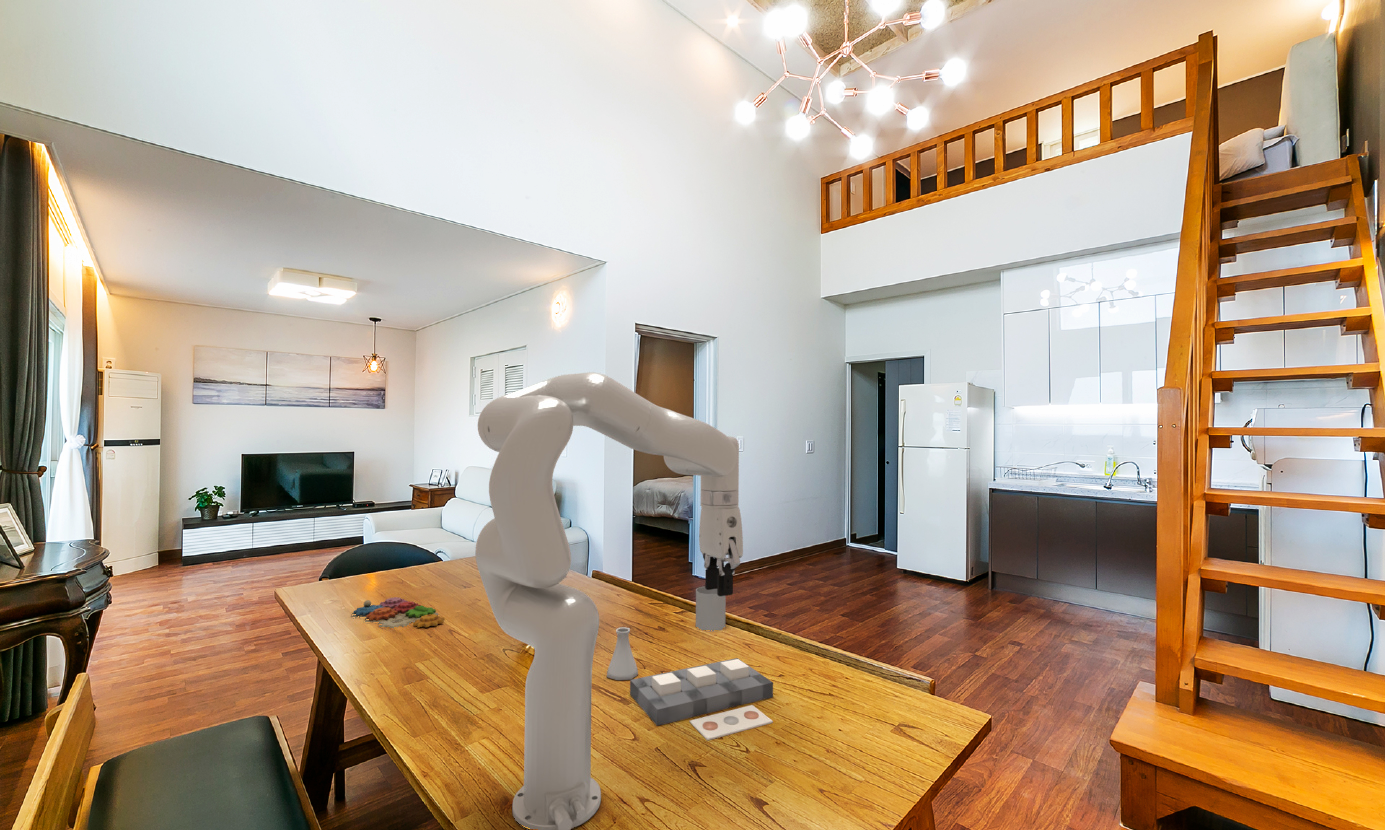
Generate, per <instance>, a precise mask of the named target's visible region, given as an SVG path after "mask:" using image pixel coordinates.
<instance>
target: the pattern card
mask: <svg viewBox="0 0 1385 830" xmlns="http://www.w3.org/2000/svg"><path fill="white" fill-rule="evenodd" d="M689 723H690V725H691V726H693V727H694V728H695V729H696V731H698V733H700V735H701V736H702V737H703V738H705V740H706V741H711V740H715V739H718V738H721V737H725V736H729V735H732V734H736V733H739V732H743V731H746V730H751V729H755V728H757V727H758V728H759V727H761V726H765V725H769V724H772V723H774V722H773V719H771V718H769V717H768V716H767V715H766V714H765V713H764V712H763V711H761V710H760V709H758V708H757V707H755V705H753V704H751V705H746V706H743V707H739V708H735V709H732V710H727V711H723V712H719V713H715V714H711V715H706V716H704V717H699V718H695V719H692V720H691V719H690V720H689Z"/></svg>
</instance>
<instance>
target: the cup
mask: <svg viewBox="0 0 1385 830" xmlns="http://www.w3.org/2000/svg"><path fill="white" fill-rule="evenodd" d="M726 599H727V597H726V596H718V595H717V589H711V590H707V589H705V585H704V586H700V587H697V588H696V589H695V628H696V627H698V628H699V629H701V630H700V631H703V630H710V631H709V632H715V631H714V630H719V631H722V629H723V628H724V627H725V628H726ZM698 628H697V629H698ZM725 628H724V629H725ZM699 629H698V630H699ZM724 629H723V630H724ZM711 630H712V631H711Z"/></svg>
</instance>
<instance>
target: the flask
mask: <svg viewBox="0 0 1385 830" xmlns="http://www.w3.org/2000/svg"><path fill="white" fill-rule="evenodd" d="M615 632H616V634H617V636H616V637H617V638H616V644H615V648H614V650H613V654H612V657H611V659H610V662H609V665H608V668H607V671H606V678H609V679H613V680H615V681H630V680H632V679H635V677H637V676H638V675H639V669H638V667H637V663H636V660H635V657H634V654H633V652H632V648H631V643H630V640H629V636H630V635H629V634H630V632H631V628H630V627H626V626H625V627H618V628H616V630H615Z"/></svg>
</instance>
